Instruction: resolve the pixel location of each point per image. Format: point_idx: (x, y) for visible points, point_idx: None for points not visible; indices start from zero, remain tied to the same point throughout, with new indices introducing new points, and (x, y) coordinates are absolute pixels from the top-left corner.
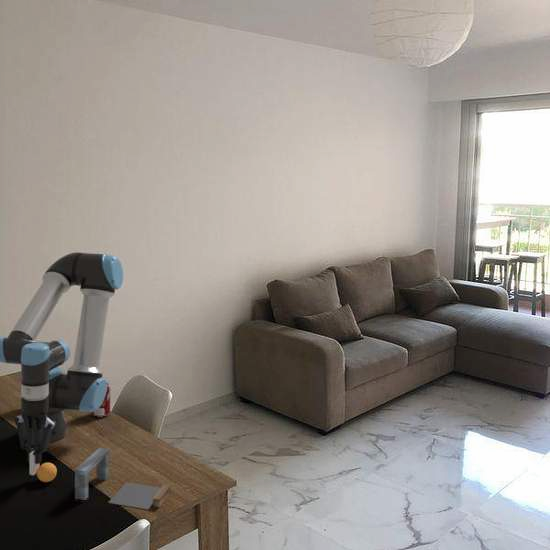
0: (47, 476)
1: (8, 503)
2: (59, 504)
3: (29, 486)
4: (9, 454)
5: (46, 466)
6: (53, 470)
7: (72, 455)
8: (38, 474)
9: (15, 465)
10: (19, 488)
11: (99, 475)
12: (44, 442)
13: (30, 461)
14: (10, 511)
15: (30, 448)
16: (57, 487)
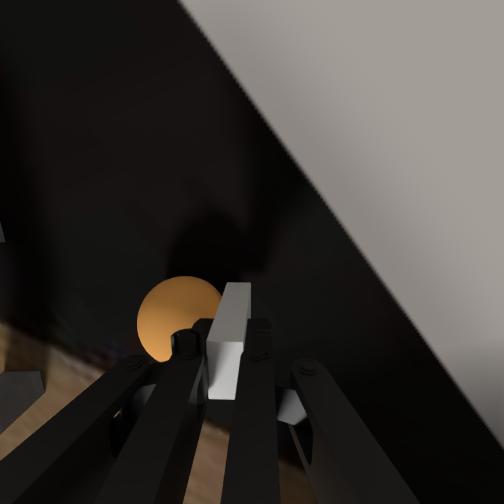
0: (154, 287)
1: (220, 85)
2: (26, 161)
3: (231, 242)
4: (465, 428)
5: (158, 322)
6: (137, 323)
7: None
8: (198, 283)
9: (390, 364)
10: (258, 213)
11: (13, 382)
12: (41, 437)
13: (240, 313)
14: (167, 26)
15: (238, 374)
16: (124, 273)
